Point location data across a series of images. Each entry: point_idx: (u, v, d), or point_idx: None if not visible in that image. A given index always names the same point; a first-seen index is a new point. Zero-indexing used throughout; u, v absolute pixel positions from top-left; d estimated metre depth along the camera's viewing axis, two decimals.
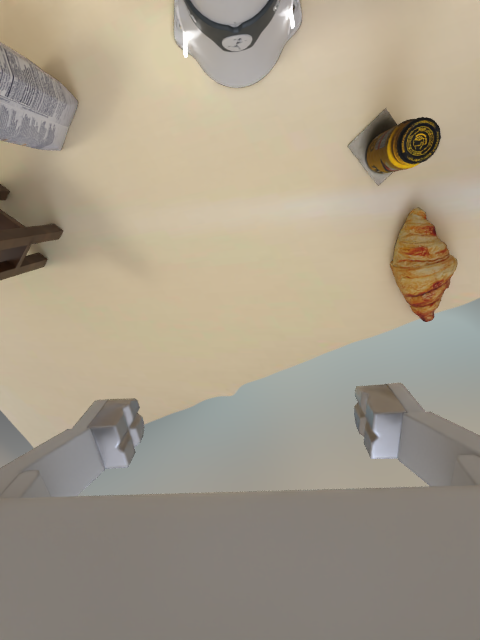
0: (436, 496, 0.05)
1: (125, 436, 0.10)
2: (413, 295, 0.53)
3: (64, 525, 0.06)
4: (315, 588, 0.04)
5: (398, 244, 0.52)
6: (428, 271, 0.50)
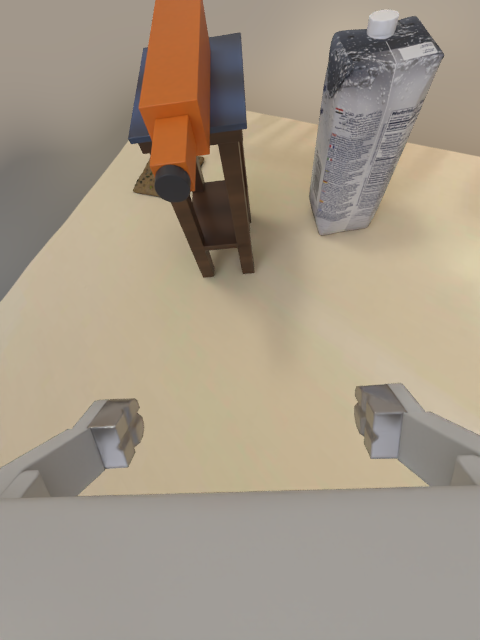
0: (436, 496, 0.05)
1: (125, 436, 0.10)
2: None
3: (64, 525, 0.06)
4: (315, 589, 0.04)
5: None
6: None
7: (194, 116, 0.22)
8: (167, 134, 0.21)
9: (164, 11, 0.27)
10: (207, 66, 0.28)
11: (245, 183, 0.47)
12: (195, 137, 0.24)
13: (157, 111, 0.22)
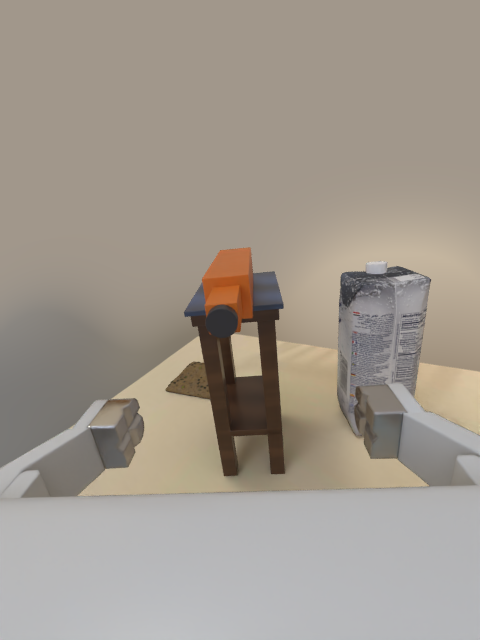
0: (436, 496, 0.05)
1: (125, 436, 0.10)
2: None
3: (64, 525, 0.06)
4: (315, 589, 0.04)
5: None
6: None
7: (244, 286, 0.28)
8: (222, 292, 0.26)
9: (225, 252, 0.40)
10: None
11: None
12: (242, 303, 0.28)
13: (216, 281, 0.28)
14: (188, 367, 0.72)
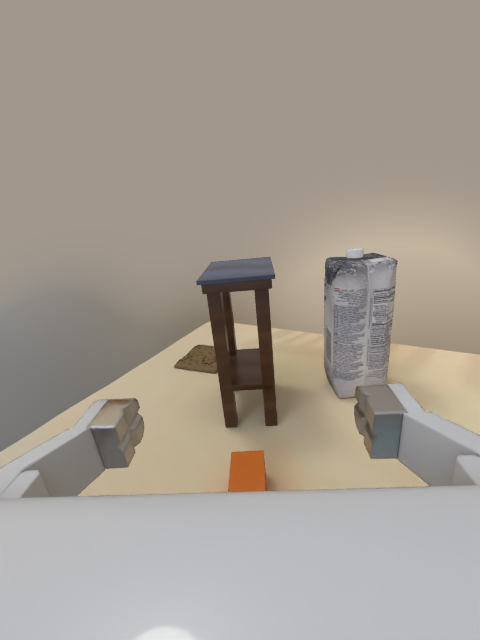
0: (436, 496, 0.05)
1: (125, 436, 0.10)
2: None
3: (64, 525, 0.06)
4: (315, 589, 0.04)
5: None
6: None
7: None
8: None
9: (237, 466, 0.38)
10: None
11: None
12: None
13: None
14: (194, 349, 0.80)
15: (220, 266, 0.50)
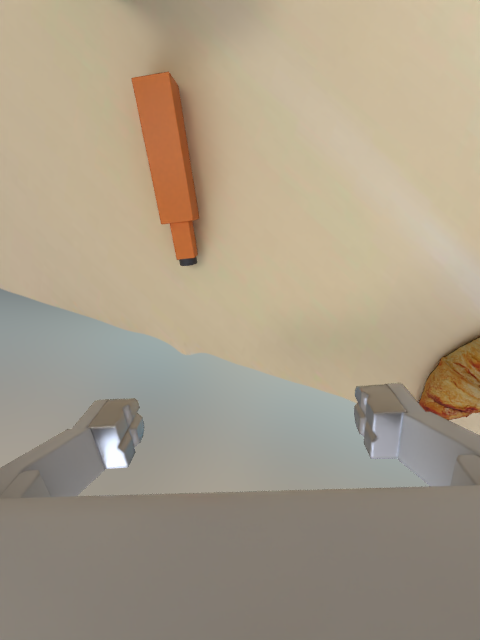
0: (436, 496, 0.05)
1: (125, 436, 0.10)
2: (439, 401, 0.47)
3: (64, 525, 0.06)
4: (314, 589, 0.04)
5: (470, 349, 0.46)
6: (476, 392, 0.44)
7: None
8: (180, 237, 0.41)
9: (145, 102, 0.34)
10: (184, 135, 0.38)
11: None
12: None
13: (171, 223, 0.40)
14: None
15: None
